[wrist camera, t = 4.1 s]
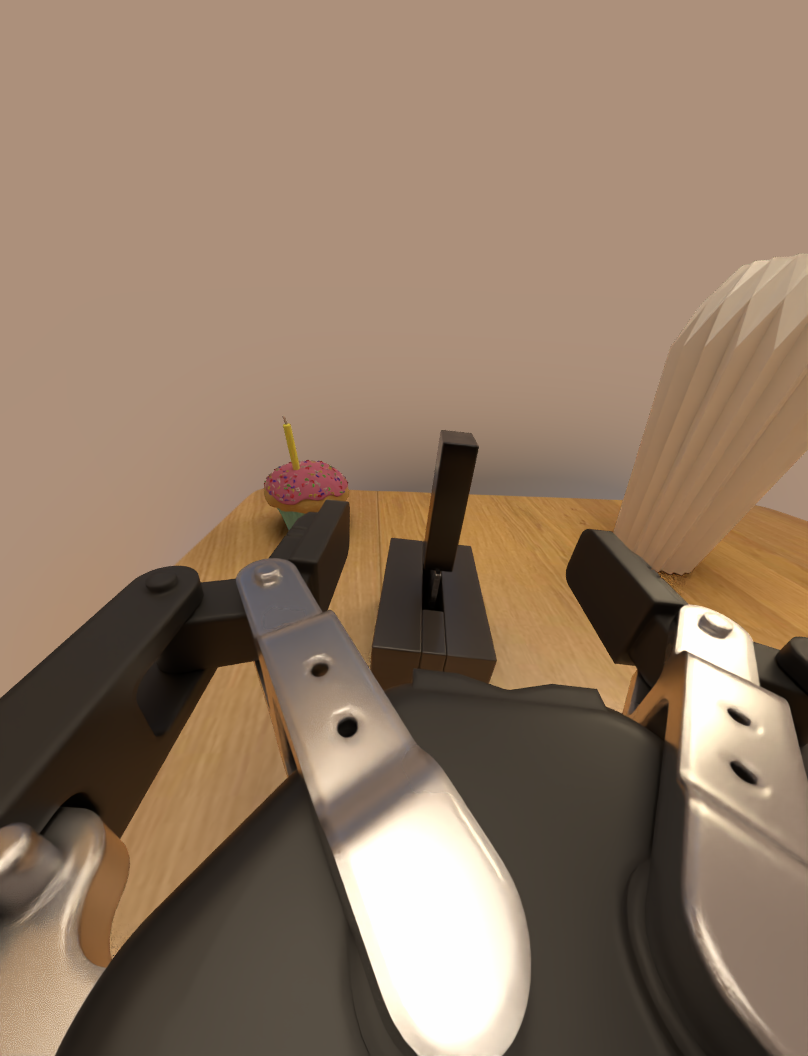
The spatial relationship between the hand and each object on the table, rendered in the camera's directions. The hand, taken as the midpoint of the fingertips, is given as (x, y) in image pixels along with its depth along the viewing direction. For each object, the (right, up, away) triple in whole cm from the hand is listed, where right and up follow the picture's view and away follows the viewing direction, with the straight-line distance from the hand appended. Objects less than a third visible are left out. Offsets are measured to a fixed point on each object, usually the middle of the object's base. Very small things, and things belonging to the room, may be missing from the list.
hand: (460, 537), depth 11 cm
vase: (+26, -3, +26) cm, 37 cm away
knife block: (-1, -8, +11) cm, 14 cm away
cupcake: (-13, +1, +25) cm, 28 cm away
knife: (-1, -8, +11) cm, 14 cm away
